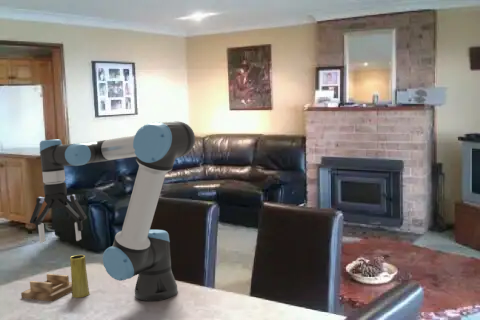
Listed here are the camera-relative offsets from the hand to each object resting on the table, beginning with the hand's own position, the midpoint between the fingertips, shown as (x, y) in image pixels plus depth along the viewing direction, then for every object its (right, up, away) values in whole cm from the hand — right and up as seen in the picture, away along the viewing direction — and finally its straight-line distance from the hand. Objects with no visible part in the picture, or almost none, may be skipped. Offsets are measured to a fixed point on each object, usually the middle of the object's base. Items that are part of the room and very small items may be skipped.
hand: (60, 240), depth 182 cm
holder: (-6, -20, +5) cm, 22 cm away
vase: (+7, -20, +1) cm, 21 cm away
